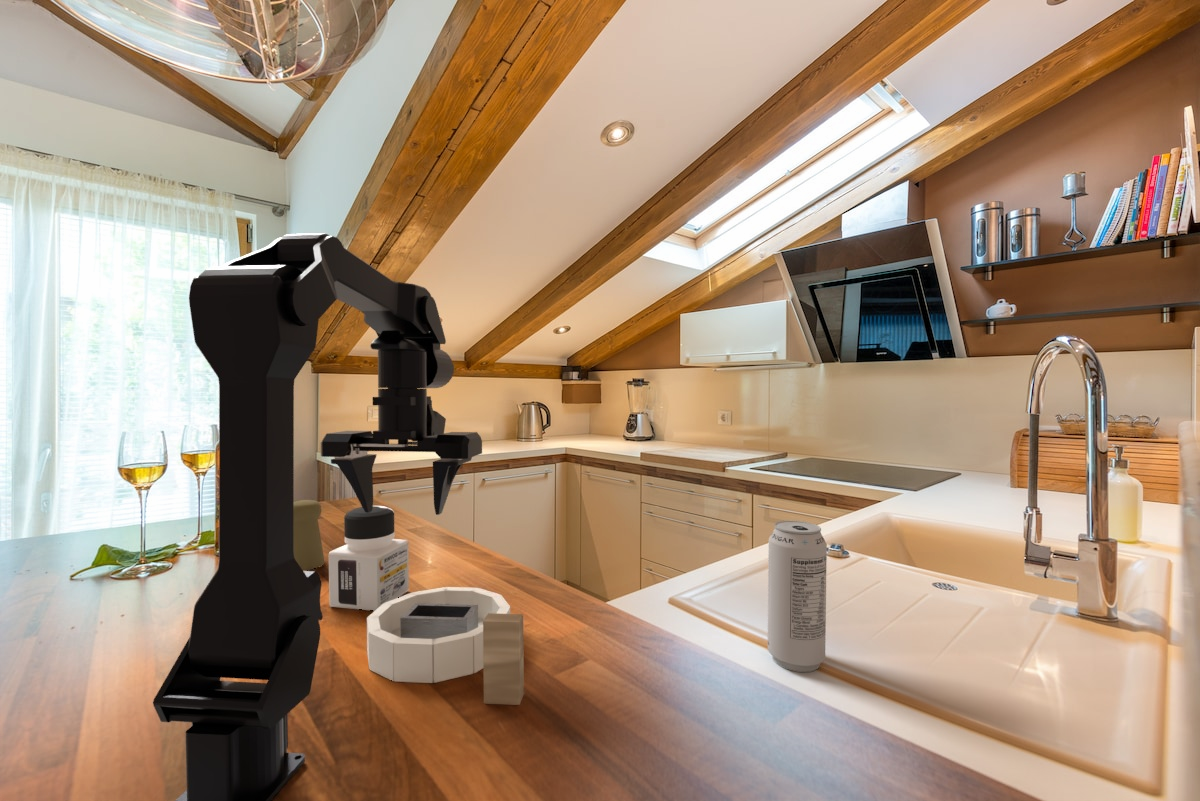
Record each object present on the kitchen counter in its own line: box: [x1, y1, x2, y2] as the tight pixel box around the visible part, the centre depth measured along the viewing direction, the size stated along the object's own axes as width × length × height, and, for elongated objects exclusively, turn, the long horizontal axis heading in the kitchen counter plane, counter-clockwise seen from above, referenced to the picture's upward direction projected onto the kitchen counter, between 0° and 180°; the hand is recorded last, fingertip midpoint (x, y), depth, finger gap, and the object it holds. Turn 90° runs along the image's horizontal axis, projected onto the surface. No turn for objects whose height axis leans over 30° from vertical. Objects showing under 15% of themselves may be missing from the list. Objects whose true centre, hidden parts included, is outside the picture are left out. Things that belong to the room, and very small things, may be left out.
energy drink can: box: [767, 520, 828, 673], centre depth 60 cm, size 6×6×15 cm
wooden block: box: [483, 613, 525, 706], centre depth 53 cm, size 2×4×8 cm, turn 86°
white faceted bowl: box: [366, 586, 511, 684], centre depth 64 cm, size 16×16×4 cm
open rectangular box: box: [400, 603, 478, 639], centre depth 64 cm, size 5×8×3 cm, turn 86°
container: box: [328, 505, 410, 612], centre depth 77 cm, size 8×8×13 cm
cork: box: [293, 499, 326, 571], centre depth 92 cm, size 6×6×11 cm
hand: (403, 513), depth 68 cm, fingers open, 9 cm apart
